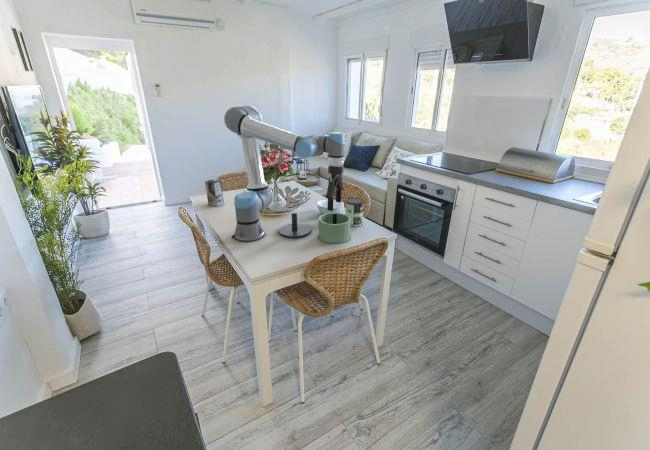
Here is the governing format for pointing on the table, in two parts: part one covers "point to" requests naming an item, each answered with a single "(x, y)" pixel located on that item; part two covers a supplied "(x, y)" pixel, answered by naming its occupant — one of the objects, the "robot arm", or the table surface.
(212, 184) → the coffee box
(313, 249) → the table surface
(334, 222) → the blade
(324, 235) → the bowl chamber
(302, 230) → the lid
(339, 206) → the cereal bowl
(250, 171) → the robot arm
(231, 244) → the table surface
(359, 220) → the coffee can
